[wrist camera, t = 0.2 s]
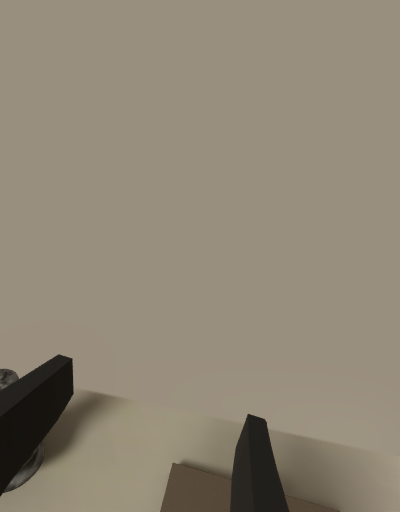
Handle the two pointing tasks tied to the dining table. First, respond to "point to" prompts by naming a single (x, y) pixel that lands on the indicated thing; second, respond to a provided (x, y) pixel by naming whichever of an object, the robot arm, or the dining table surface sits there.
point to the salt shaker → (4, 379)
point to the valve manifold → (211, 493)
